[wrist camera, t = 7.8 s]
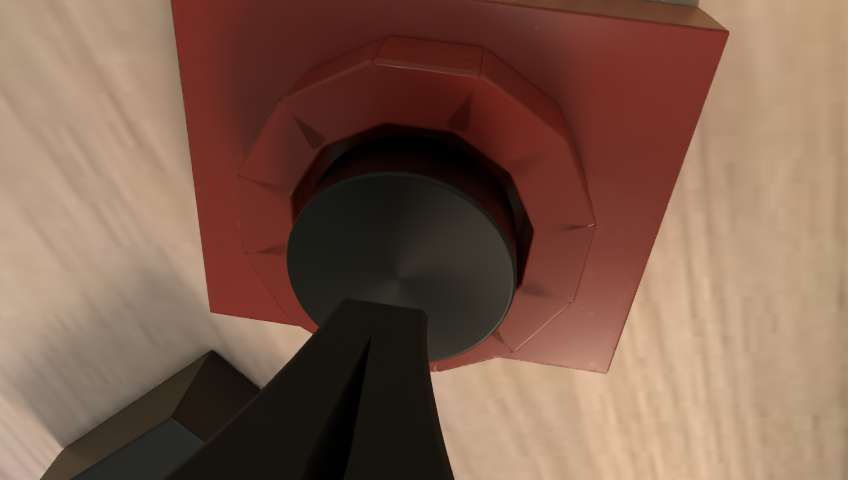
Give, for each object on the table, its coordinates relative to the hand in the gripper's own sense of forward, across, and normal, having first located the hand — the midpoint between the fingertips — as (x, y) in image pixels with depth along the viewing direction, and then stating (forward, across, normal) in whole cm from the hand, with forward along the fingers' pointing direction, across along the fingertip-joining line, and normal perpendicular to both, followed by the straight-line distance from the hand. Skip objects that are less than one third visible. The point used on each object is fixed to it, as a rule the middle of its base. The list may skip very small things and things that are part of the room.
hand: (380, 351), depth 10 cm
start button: (+4, 0, 0) cm, 4 cm away
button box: (+7, 0, 0) cm, 7 cm away
